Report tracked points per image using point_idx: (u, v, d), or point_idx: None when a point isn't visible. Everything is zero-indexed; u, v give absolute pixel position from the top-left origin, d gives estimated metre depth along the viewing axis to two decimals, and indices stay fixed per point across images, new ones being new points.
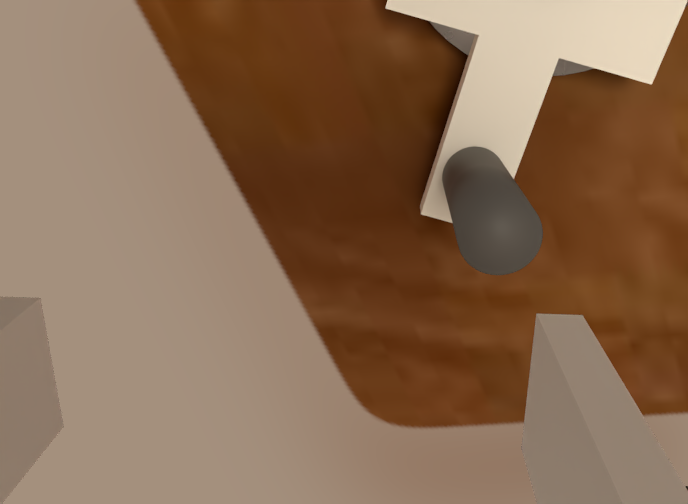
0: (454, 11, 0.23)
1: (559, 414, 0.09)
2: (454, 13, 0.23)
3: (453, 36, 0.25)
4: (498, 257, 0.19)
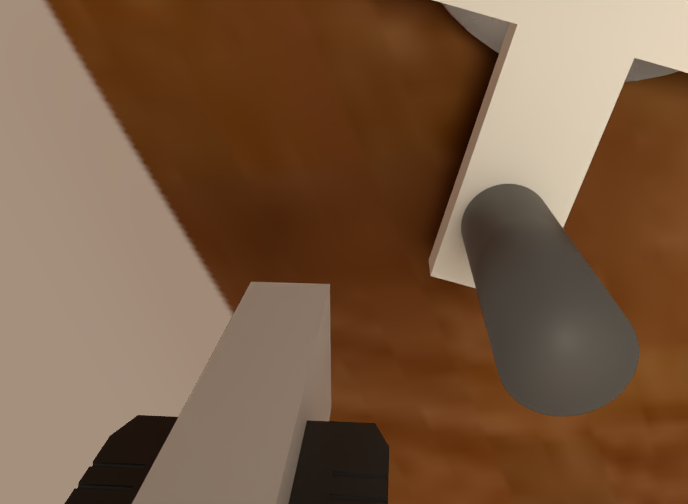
0: None
1: None
2: None
3: (477, 26, 0.17)
4: (563, 390, 0.12)
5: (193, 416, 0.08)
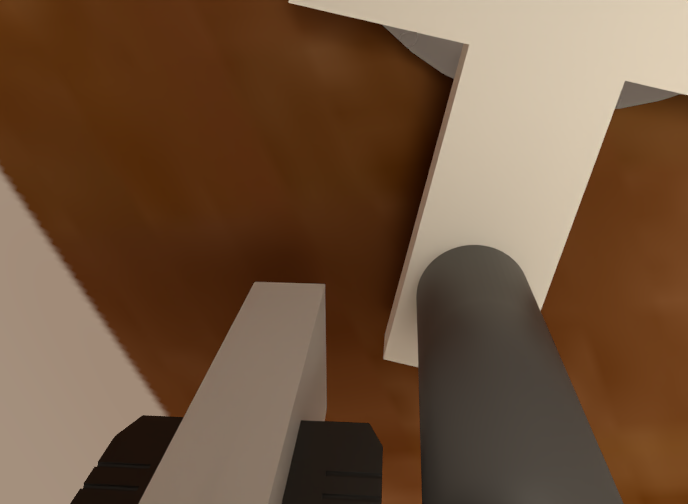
0: (419, 1, 0.12)
1: None
2: (419, 5, 0.12)
3: (418, 41, 0.14)
4: None
5: (198, 416, 0.08)
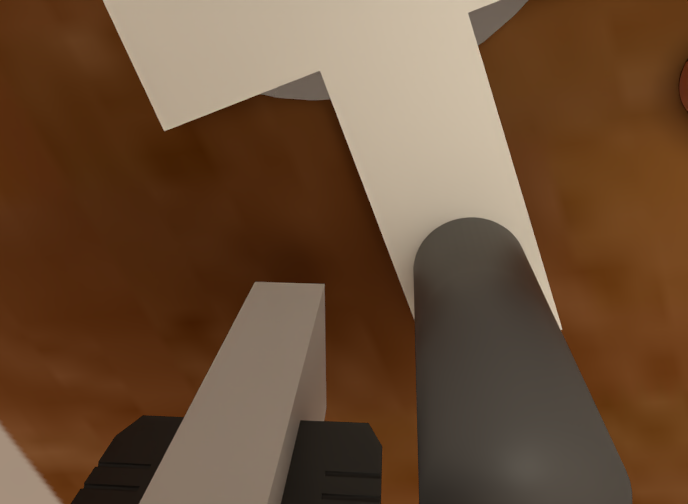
0: (258, 64, 0.13)
1: None
2: (261, 67, 0.13)
3: None
4: None
5: (199, 416, 0.08)
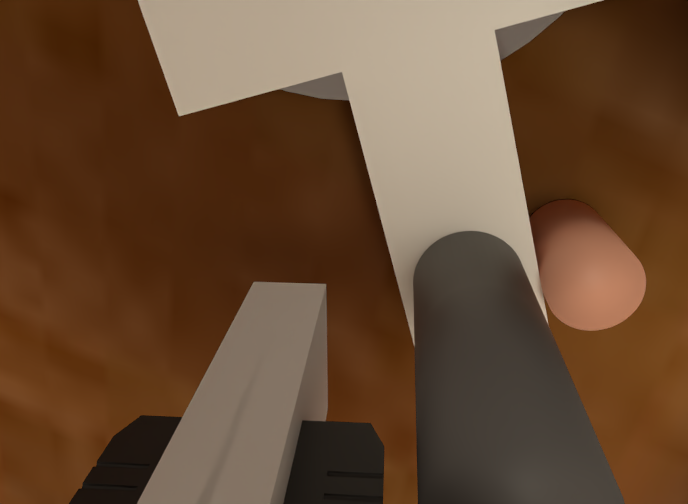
0: (281, 59, 0.13)
1: None
2: (283, 62, 0.13)
3: None
4: None
5: (197, 416, 0.08)
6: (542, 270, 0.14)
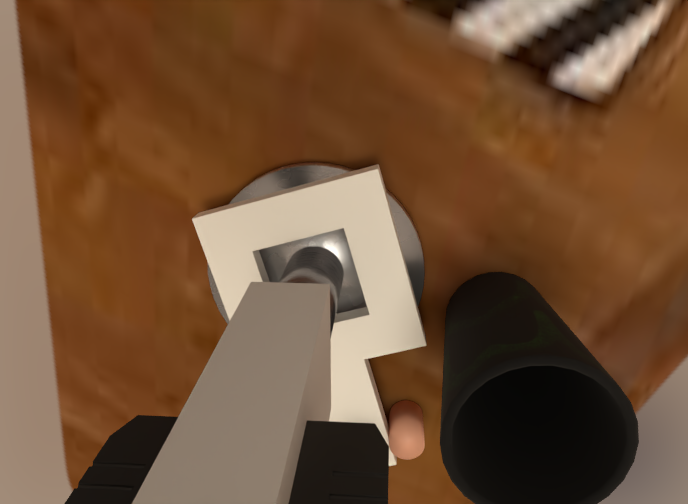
0: None
1: None
2: None
3: (223, 308, 0.37)
4: None
5: (193, 416, 0.08)
6: (389, 436, 0.37)
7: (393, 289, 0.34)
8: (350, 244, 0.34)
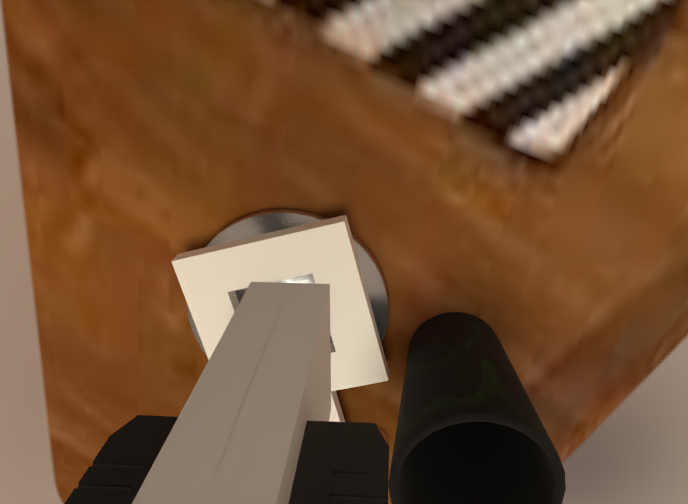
0: None
1: None
2: None
3: None
4: None
5: (193, 416, 0.08)
6: None
7: (358, 329, 0.37)
8: None
